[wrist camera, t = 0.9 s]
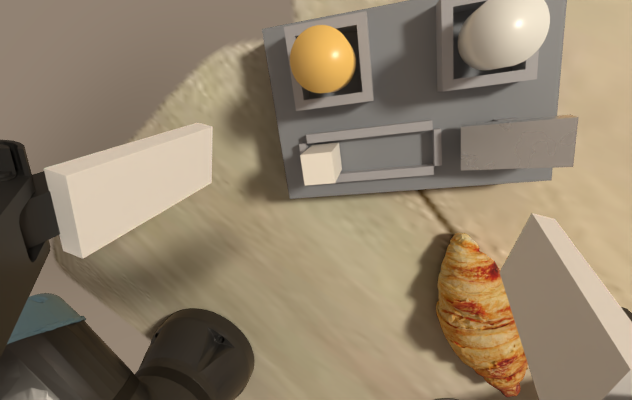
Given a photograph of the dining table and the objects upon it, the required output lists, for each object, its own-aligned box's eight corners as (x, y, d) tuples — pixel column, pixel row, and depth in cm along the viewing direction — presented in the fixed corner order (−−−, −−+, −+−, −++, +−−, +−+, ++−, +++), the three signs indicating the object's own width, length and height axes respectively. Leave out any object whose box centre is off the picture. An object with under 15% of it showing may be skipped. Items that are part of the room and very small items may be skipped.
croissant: (424, 224, 40) (397, 259, 34) (518, 214, 33) (502, 256, 27) (476, 361, 44) (459, 413, 38) (568, 379, 37) (564, 445, 31)
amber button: (306, 96, 28) (294, 97, 24) (298, 39, 26) (285, 31, 23) (358, 88, 27) (354, 88, 23) (353, 29, 25) (348, 19, 22)
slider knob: (315, 171, 32) (304, 185, 27) (312, 145, 31) (300, 155, 26) (341, 169, 31) (335, 183, 27) (339, 142, 31) (331, 151, 26)
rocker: (460, 165, 29) (460, 170, 27) (460, 124, 28) (460, 126, 26) (566, 161, 26) (573, 166, 24) (570, 114, 25) (578, 117, 23)
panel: (298, 187, 37) (282, 207, 31) (275, 35, 33) (250, 23, 27) (531, 169, 32) (567, 188, 26) (543, -15, 27) (590, -45, 21)
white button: (457, 74, 25) (470, 71, 21) (457, 10, 24) (471, -5, 20) (521, 65, 24) (547, 61, 20) (524, -2, 23) (553, -20, 19)
